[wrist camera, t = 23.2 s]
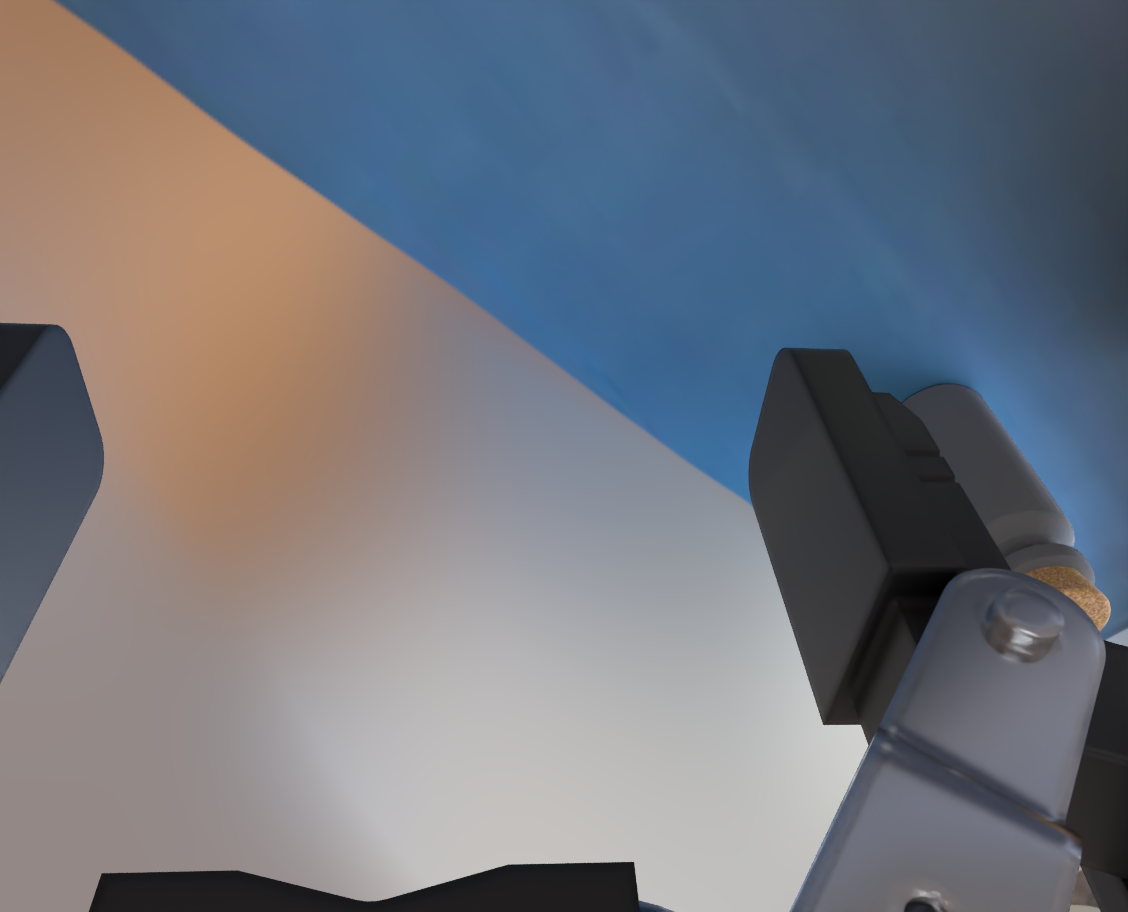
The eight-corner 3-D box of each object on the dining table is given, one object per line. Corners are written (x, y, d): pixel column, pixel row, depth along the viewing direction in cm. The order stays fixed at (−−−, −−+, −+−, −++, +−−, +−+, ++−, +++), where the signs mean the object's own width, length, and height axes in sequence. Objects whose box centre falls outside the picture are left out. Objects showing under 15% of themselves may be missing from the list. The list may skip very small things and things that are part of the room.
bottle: (863, 445, 54) (964, 648, 42) (928, 368, 50) (1057, 566, 39) (940, 474, 55) (1058, 677, 44) (1008, 402, 52) (1154, 601, 41)
